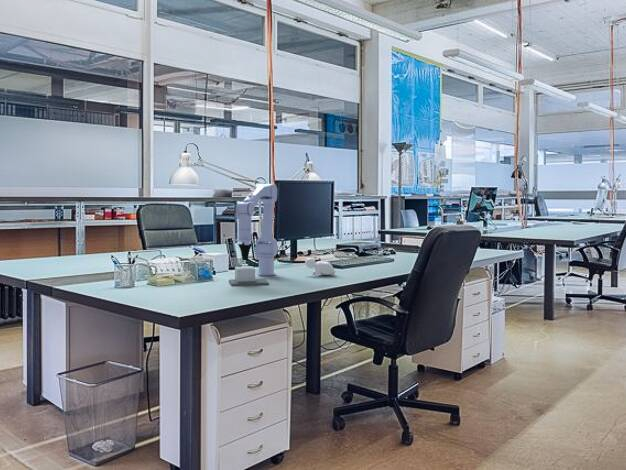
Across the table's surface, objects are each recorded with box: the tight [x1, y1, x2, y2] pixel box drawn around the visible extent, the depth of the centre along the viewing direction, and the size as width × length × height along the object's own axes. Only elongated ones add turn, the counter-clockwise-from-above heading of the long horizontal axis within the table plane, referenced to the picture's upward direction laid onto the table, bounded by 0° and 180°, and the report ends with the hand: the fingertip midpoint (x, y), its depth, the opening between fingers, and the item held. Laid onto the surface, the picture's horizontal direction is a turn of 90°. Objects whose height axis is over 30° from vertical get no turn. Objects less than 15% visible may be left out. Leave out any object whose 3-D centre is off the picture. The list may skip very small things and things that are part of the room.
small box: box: [234, 265, 256, 282], centre depth 259 cm, size 8×6×10 cm
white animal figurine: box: [304, 257, 337, 278], centre depth 282 cm, size 9×8×15 cm
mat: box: [228, 278, 270, 287], centre depth 257 cm, size 12×16×1 cm
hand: (245, 259), depth 260 cm, fingers closed
